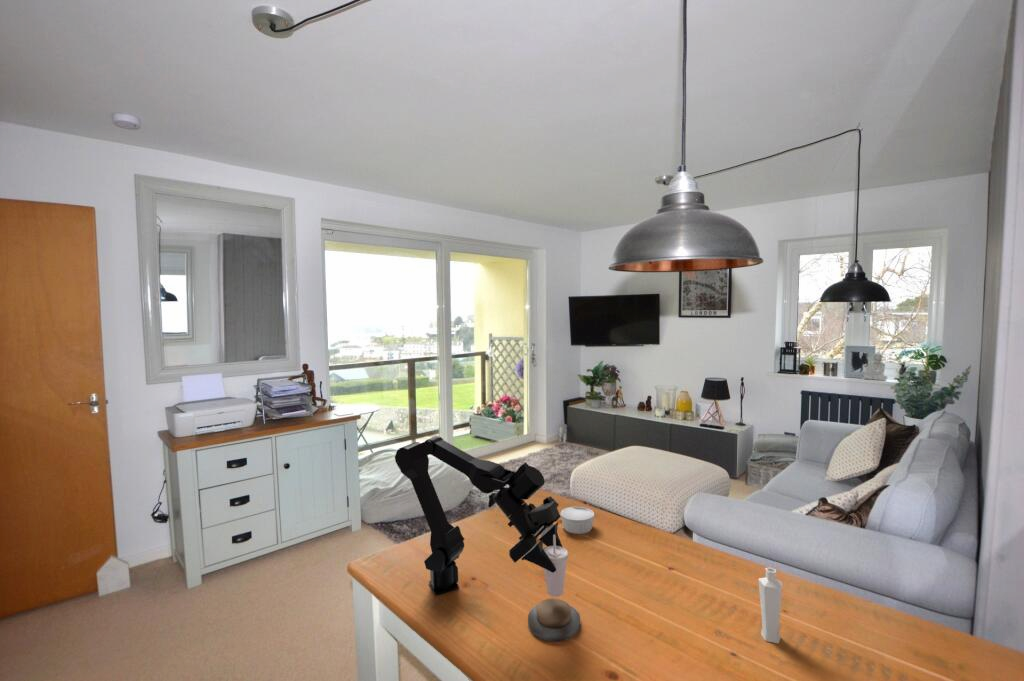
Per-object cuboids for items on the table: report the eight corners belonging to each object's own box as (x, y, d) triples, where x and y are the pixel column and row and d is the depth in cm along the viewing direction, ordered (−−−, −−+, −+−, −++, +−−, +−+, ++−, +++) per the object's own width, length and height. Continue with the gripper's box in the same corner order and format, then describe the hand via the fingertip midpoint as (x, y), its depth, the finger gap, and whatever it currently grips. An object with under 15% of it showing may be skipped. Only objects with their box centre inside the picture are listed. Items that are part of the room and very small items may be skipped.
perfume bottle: (761, 627, 105) (760, 562, 104) (783, 635, 102) (783, 568, 101) (756, 638, 101) (756, 571, 101) (779, 647, 99) (779, 577, 98)
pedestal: (544, 648, 100) (544, 632, 100) (519, 616, 111) (518, 602, 111) (590, 630, 105) (590, 615, 105) (562, 602, 116) (562, 588, 116)
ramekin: (596, 523, 160) (596, 507, 160) (592, 537, 149) (591, 521, 149) (564, 519, 163) (564, 504, 163) (557, 534, 153) (557, 518, 152)
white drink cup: (542, 600, 107) (540, 540, 106) (540, 584, 113) (539, 527, 112) (570, 600, 107) (569, 540, 106) (567, 583, 113) (566, 527, 112)
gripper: (520, 505, 102) (569, 565, 98) (552, 477, 119) (595, 528, 114) (490, 533, 106) (535, 592, 102) (525, 503, 123) (565, 552, 118)
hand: (560, 564), depth 109 cm, fingers closed on white drink cup, 6 cm apart
